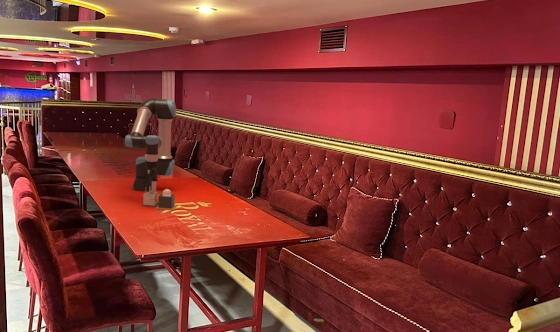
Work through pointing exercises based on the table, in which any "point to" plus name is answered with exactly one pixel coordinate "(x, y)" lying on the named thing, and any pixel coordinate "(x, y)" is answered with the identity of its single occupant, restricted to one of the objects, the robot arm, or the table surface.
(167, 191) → the dome plunger
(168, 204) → the button box
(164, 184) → the table surface
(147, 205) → the pad
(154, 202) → the die
